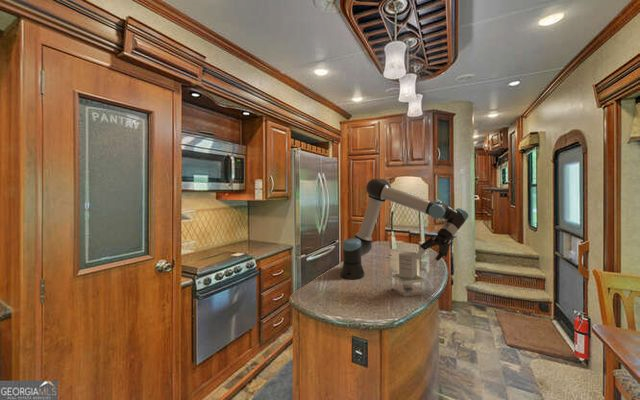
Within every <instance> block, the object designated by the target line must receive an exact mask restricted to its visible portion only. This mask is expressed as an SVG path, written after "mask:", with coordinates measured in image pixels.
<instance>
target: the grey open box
mask: <svg viewBox="0 0 640 400" xmlns="http://www.w3.org/2000/svg"><path fill="white" fill-rule="evenodd" d="M391 277H392V278H393V279H395V280H397V281H398V282H400V283H401V284H397V285H396V284H395V285H392V287H391V288H392V289H393V291H396V292H397V293H398V294H399V295H401V296H403V297H404V298H406V297H412V296H413V297H414V296H419V295H420V296H421V295H425V290H424V289H421V287H420V288H419V287H418V286H416V285H414V284H419V283H425V278H423V277H421V276H419V275H418V274H417V276H415V277H414V278H413V279H409V278H404V277H400V276H399V273H393V274H392V275H391Z"/></svg>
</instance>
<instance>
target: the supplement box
mask: <svg viewBox="0 0 640 400" xmlns="http://www.w3.org/2000/svg"><path fill="white" fill-rule="evenodd" d="M417 253H418V252H416V251H415V252H414V251H413V252H412V251H406V250H405V251H401V252H400V253H398V272H399V273H398V274H399V276H400V277H404V278H409V279H413V278H414V277H415V276H417V275H418V269H417V268H418V264H417V263H418V261H417V260H418V259H417Z"/></svg>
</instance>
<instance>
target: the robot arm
mask: <svg viewBox="0 0 640 400" xmlns="http://www.w3.org/2000/svg"><path fill="white" fill-rule="evenodd" d="M365 190H366V192H367V194H368V196H367V197H368V199H369V200H368V203H367V206H366V209H365V212H364V215H363V219H362V221H361V225H360V227H359V231H358V232H356V233H355V236H354V237H351V238H346V239H344V240H343V242H342V256H343V257H342V258H343V259H342V261H343V263H342V267H341V270H340V276H341V278H343V279H347V280H359V279H363V278H364V277H365V271H364V267H363V264H362V256H364V255H366V254H367V255H368V253H369V252H371V250H372V246H373V243H372V242H373V238H372V234H373V233H374V232H373V231H374V229H375V225H376V222H377V220H378V216H379V213H380V211H381V209H382V205H383V204H384V203H386V200H387V201H389V202H392V203H394V204H398V205H400V206H404V207H407V208H409V209H412V210H415V211H418V212H419V213H422V214H426V215H428V216H430V217H431V218H433V219H441V218H442V219H444V220H445V223H444V224H443V225H442V226H441V228H440V229H439V230H438V231H437V234H436V236H435V235H432V236H430V238H428V239H427V240H426V241H424V242H423V243H421V244H420V246H419V247H420V249H419V251H417V252H416V253H417V260H420V258H421V257H422V256H423V255H424V253H425V252H426V250H428V249H430V248H432V247H435V246H436V247H437V246H438V252H437V253H436V254H435V255H434V256H433V258H432V259H431V260H430V262H429V264H431V266H432V267H435V265H437V263H438V262H439V261H440V259H442V257H445V258H446V257H447V256H448V253H449V249H450V246H451V244H452V241H451V240H452V239H453V237H454V236H455V235H456V233H457V232H458V231H459V230H460V228H462V226H464V224H465V222H466V221H467V220H468V218H469V213H468V212H467V211H466V210H465V209H463V208H460V207H458V208H456V209H455V208H453V207H451V206H450V205H449V204H446V203H445V202H444V201H442V200H440V199H438V198H437V199H434V201H432V200H428V199H425V198H423V197H420V196H417V195H414V194H411V193H408V192H404V191H402V190H399V189H395V188H394V187H392V186H391V182H389V181H388V180H386V179H384V178H372V179H370V180H369V181H368V182H367V184H366V186H365Z"/></svg>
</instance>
